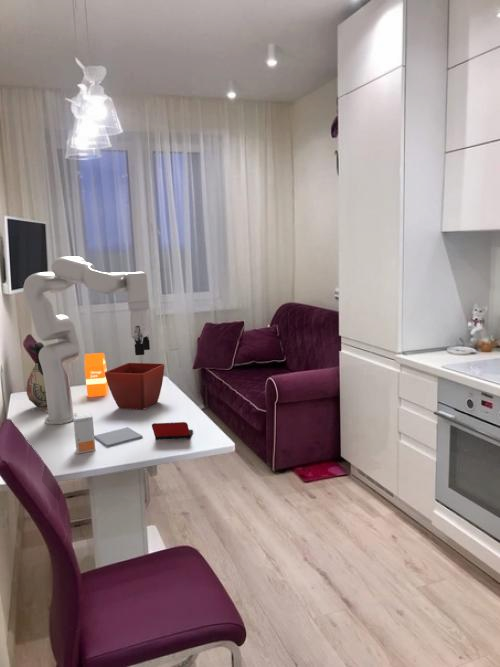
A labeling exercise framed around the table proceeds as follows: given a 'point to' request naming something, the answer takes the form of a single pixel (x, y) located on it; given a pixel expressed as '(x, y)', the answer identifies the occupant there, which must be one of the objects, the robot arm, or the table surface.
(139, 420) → the table surface
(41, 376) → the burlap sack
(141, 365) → the plant pot
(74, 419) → the skincare box
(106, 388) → the orange juice
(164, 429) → the handheld game console
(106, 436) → the slate mat
